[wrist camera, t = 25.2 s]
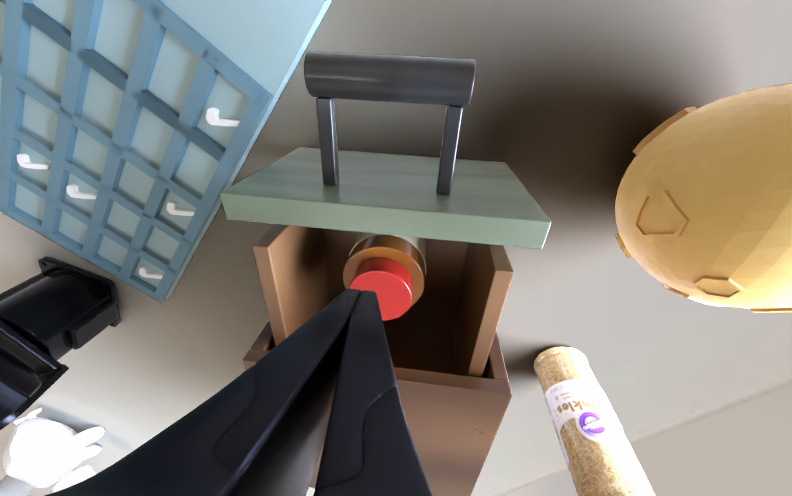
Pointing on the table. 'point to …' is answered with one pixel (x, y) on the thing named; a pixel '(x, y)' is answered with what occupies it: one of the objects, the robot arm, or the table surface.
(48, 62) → the calendar
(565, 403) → the sprinkles bottle
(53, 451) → the white animal figurine
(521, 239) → the drawer
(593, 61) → the table surface
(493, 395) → the cabinet
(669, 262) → the stress ball
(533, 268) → the table surface
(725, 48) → the table surface
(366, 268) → the spice bottle
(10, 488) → the bottle
